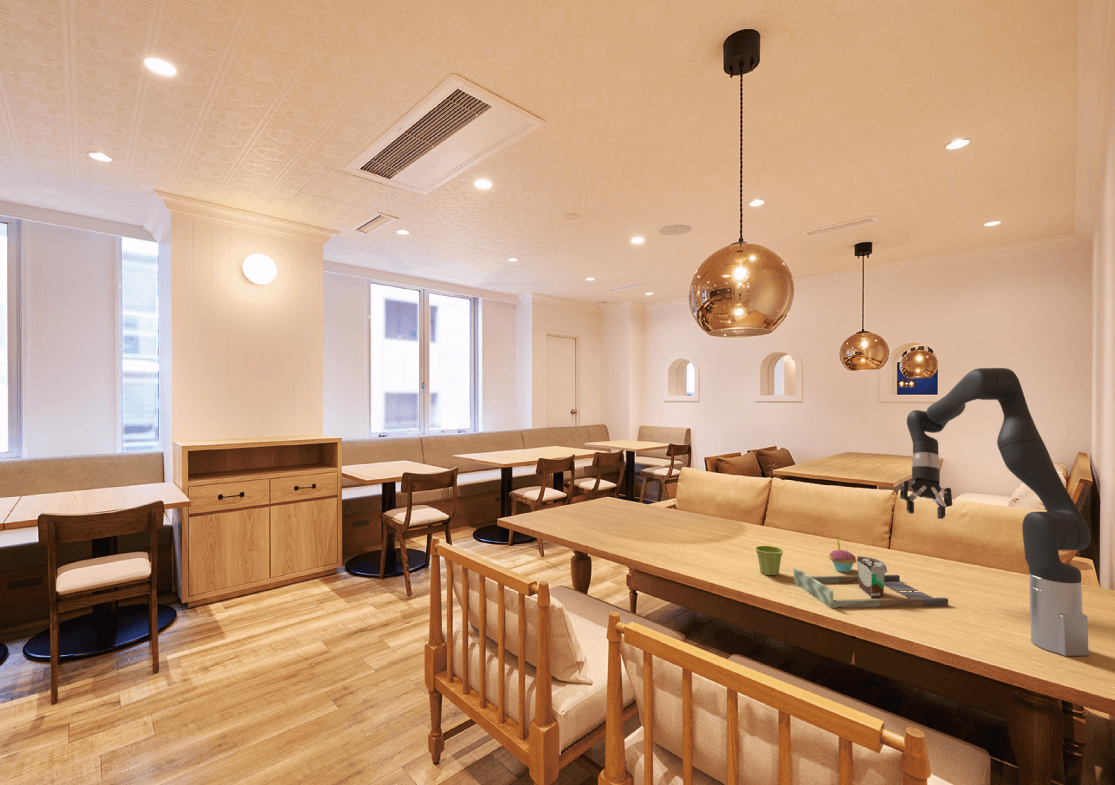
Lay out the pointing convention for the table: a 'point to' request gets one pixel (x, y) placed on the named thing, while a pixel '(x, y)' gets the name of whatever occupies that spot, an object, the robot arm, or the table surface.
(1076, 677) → the table surface
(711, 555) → the table surface
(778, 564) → the plant pot
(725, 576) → the table surface
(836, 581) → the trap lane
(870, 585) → the food container
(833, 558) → the cupcake
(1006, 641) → the table surface
